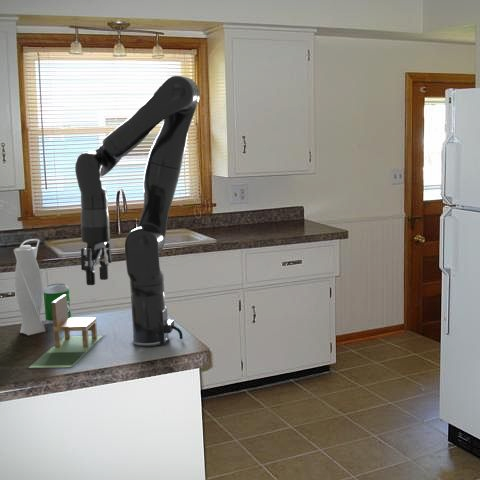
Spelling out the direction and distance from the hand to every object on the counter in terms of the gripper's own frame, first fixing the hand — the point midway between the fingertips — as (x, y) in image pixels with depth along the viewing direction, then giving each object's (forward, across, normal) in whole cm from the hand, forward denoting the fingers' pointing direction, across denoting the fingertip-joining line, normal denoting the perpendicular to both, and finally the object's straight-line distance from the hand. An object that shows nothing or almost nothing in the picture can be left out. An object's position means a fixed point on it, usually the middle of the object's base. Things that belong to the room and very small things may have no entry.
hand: (97, 282), depth 204 cm
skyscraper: (+18, +10, +25) cm, 32 cm away
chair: (+18, 0, +7) cm, 19 cm away
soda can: (+17, +20, +23) cm, 35 cm away
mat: (+18, -7, +6) cm, 20 cm away
